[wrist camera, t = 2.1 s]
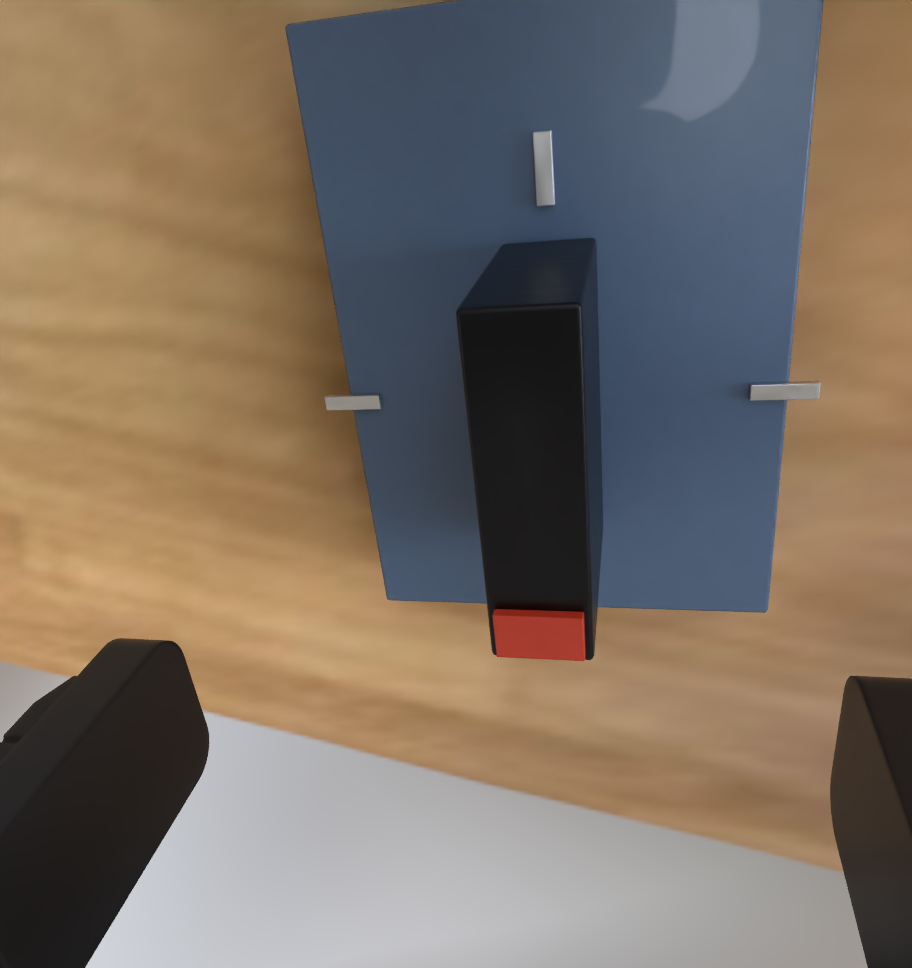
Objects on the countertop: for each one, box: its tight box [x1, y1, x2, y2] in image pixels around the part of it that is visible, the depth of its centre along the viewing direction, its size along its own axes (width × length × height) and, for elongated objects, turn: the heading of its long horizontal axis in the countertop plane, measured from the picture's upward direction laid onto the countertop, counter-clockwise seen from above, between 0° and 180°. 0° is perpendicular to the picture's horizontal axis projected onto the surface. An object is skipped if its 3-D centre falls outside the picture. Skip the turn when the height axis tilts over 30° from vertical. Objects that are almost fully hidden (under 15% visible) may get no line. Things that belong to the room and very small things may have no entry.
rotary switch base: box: [286, 0, 823, 613], centre depth 19 cm, size 14×11×3 cm
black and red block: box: [456, 238, 603, 661], centre depth 16 cm, size 7×2×5 cm, turn 6°
